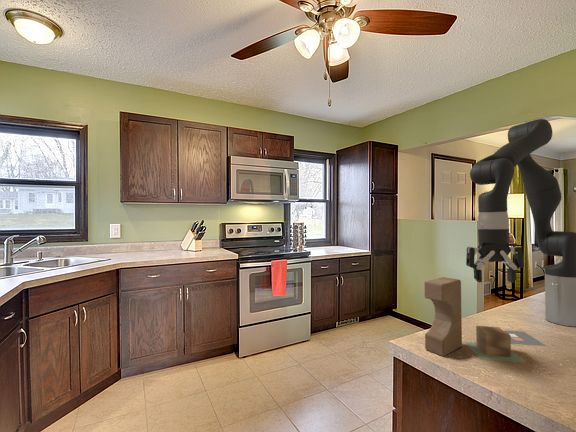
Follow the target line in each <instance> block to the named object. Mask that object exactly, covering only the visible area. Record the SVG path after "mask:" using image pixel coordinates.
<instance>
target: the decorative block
mask: <svg viewBox="0 0 576 432" xmlns="http://www.w3.org/2000/svg"><path fill="white" fill-rule="evenodd" d="M423 283H424V286H423V287H424V298H425V299H428V300H430V301H431V302H432V304H433V306H434V319H433V322H432V325H431V327H430V328H429V330H428V331H427V332H426V333H424V349H425V350H426V351H427V352H430V353H433V354H436V355H437V356H440V357H445V356H446V355H448V354H450V353H452V352H454V351H456V350H458V349H459V348H461V347H462V346H463V333H462V332H463V331H462V328H463V327H462V325H463V324H462V322H463V321H462V280H461V279H457V278H450V277H447V276H445V277H444V276H442V277H438V278H433V279H431V280H425V281H424V282H423Z"/></svg>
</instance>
